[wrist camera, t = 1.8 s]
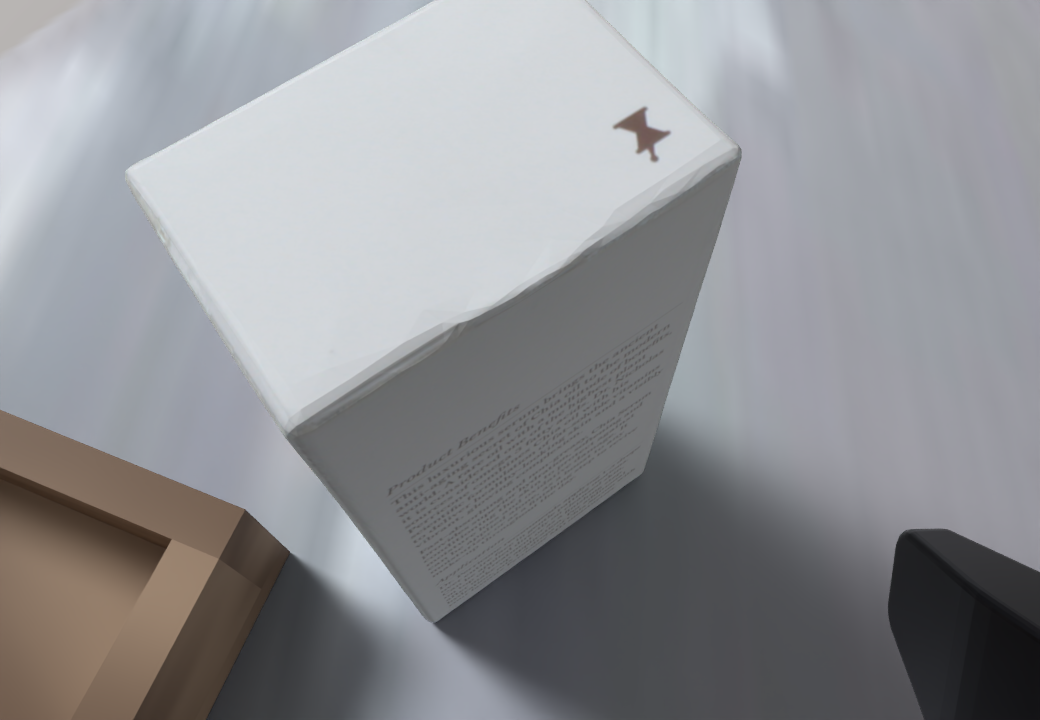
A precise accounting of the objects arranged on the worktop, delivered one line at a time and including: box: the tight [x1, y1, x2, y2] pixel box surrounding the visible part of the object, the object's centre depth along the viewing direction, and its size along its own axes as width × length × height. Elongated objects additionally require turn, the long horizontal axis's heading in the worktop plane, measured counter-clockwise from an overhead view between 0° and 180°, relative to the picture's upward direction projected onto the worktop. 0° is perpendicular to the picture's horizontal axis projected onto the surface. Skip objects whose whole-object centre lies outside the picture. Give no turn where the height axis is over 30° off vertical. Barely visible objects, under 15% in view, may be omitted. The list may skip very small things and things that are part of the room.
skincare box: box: [125, 0, 741, 622], centre depth 16 cm, size 6×4×12 cm
